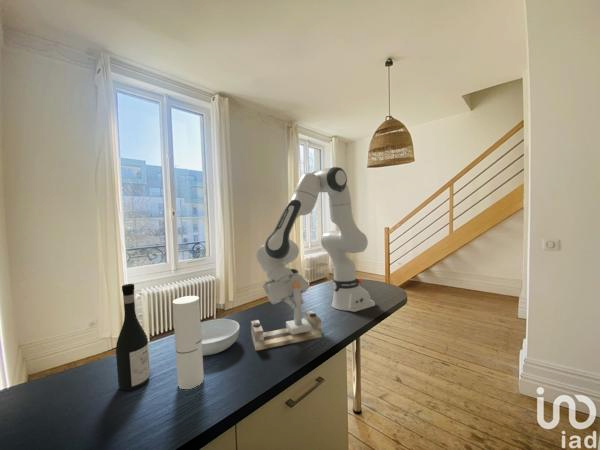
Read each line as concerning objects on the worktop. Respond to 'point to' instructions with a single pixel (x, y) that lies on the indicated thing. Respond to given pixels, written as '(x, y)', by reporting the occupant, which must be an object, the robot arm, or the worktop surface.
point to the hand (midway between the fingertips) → (298, 305)
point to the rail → (284, 333)
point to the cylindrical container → (188, 341)
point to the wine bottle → (131, 347)
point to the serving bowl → (218, 335)
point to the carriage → (297, 313)
